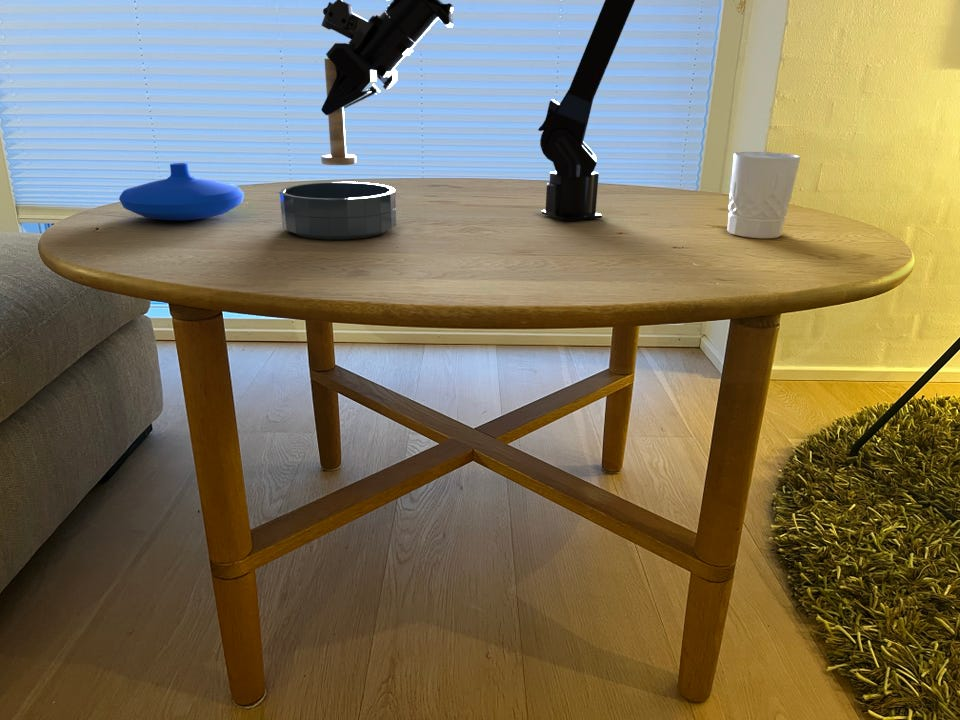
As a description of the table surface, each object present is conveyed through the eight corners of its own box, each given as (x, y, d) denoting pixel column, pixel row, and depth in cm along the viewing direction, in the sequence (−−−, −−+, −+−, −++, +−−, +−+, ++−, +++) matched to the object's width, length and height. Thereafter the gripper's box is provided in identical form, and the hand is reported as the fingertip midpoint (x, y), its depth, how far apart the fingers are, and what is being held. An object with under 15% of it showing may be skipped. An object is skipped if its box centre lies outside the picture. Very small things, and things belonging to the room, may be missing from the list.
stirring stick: (345, 160, 105) (339, 59, 100) (362, 163, 101) (357, 59, 96) (315, 162, 102) (307, 58, 97) (332, 166, 98) (325, 58, 93)
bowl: (375, 216, 99) (373, 180, 97) (412, 235, 87) (411, 195, 85) (273, 223, 92) (269, 185, 91) (298, 245, 81) (295, 202, 79)
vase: (95, 224, 90) (84, 168, 87) (171, 204, 104) (163, 155, 102) (204, 231, 87) (197, 173, 84) (267, 210, 101) (262, 160, 99)
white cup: (787, 231, 93) (801, 154, 90) (784, 242, 87) (799, 159, 83) (726, 225, 96) (737, 150, 93) (718, 236, 90) (730, 155, 86)
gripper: (372, -13, 101) (304, 69, 106) (337, -31, 84) (258, 67, 89) (427, 47, 103) (358, 124, 108) (404, 41, 86) (323, 133, 91)
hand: (326, 112), depth 99 cm, fingers closed on stirring stick, 2 cm apart
